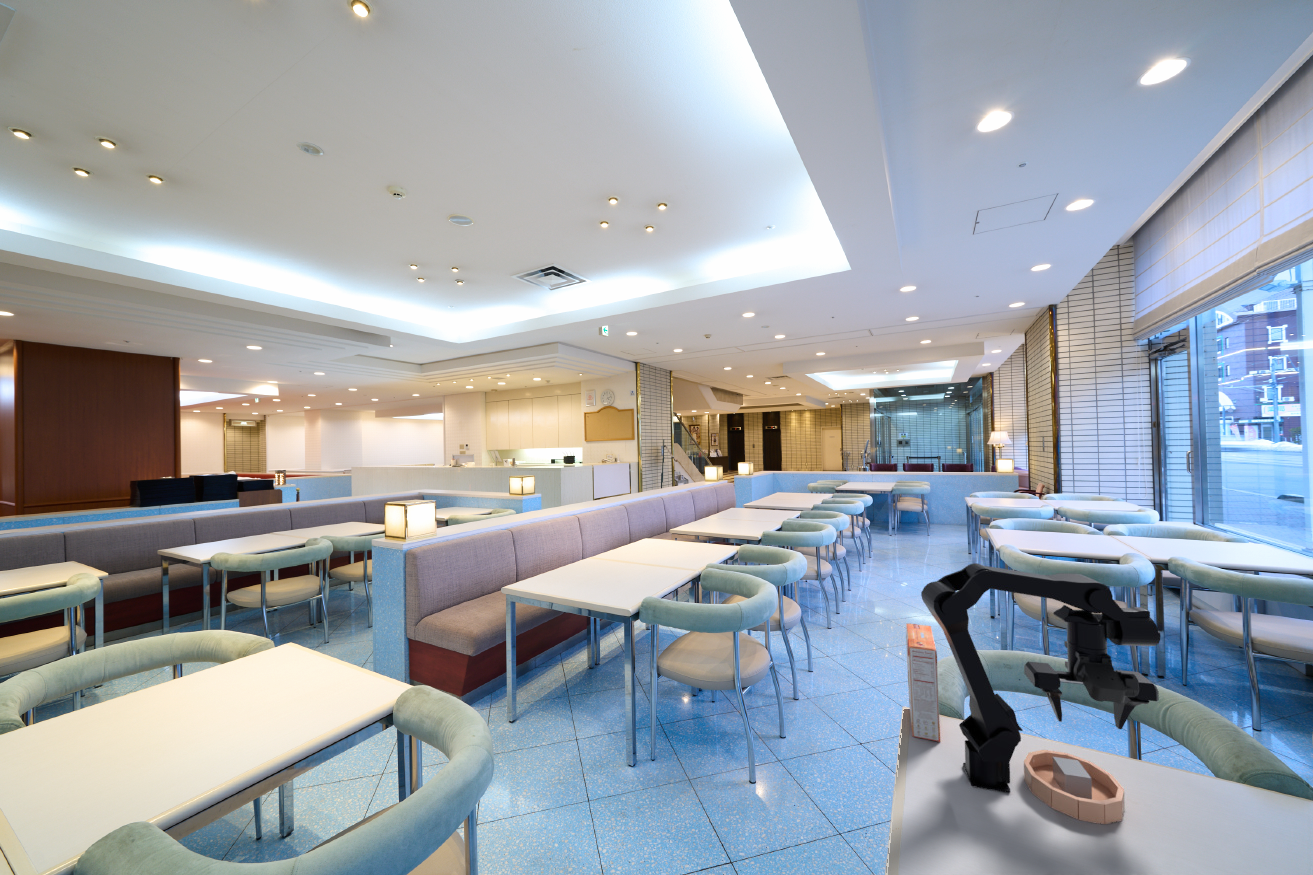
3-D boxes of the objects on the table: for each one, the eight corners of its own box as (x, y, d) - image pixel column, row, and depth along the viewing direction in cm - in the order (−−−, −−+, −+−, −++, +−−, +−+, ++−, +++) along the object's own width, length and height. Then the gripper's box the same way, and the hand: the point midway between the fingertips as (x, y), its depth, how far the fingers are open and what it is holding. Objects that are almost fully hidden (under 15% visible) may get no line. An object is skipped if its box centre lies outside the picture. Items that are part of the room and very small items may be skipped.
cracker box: (907, 704, 123) (905, 621, 122) (935, 709, 120) (932, 624, 120) (910, 737, 110) (907, 645, 110) (941, 743, 108) (938, 649, 107)
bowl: (1043, 813, 88) (1043, 794, 88) (1014, 761, 101) (1013, 745, 101) (1142, 830, 83) (1142, 810, 83) (1098, 774, 97) (1097, 757, 96)
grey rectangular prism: (1065, 795, 90) (1064, 773, 90) (1053, 776, 95) (1052, 756, 95) (1091, 799, 89) (1091, 778, 89) (1078, 780, 94) (1077, 760, 94)
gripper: (1046, 656, 88) (1048, 742, 89) (1179, 669, 83) (1181, 760, 83) (1022, 631, 99) (1024, 708, 99) (1138, 641, 93) (1140, 722, 93)
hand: (1088, 724), depth 93 cm, fingers open, 9 cm apart
